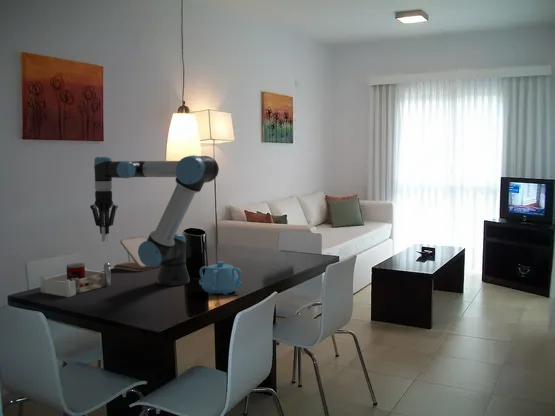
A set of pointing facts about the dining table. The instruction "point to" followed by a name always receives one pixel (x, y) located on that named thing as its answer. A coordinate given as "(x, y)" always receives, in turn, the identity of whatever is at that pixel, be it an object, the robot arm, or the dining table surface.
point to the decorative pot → (220, 278)
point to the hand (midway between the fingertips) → (104, 240)
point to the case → (133, 255)
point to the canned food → (76, 271)
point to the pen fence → (64, 284)
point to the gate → (89, 283)
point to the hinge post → (107, 274)
